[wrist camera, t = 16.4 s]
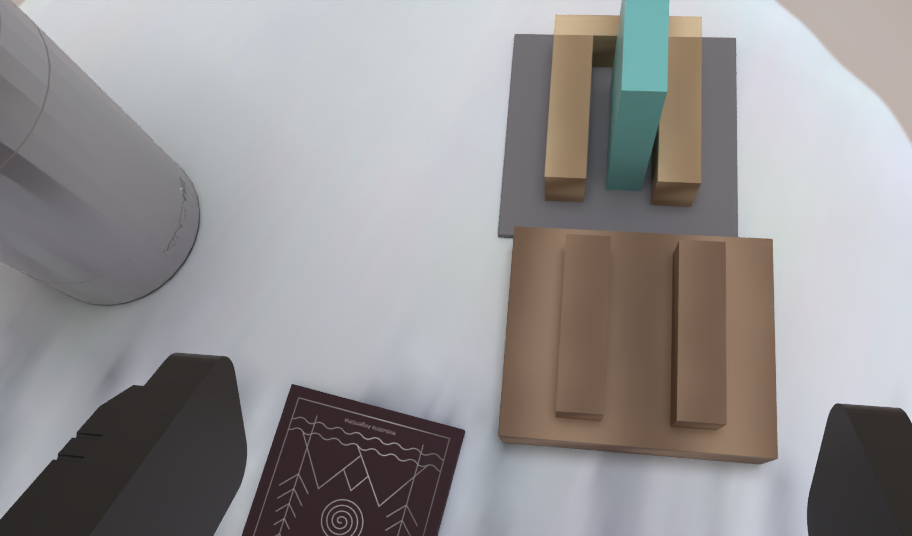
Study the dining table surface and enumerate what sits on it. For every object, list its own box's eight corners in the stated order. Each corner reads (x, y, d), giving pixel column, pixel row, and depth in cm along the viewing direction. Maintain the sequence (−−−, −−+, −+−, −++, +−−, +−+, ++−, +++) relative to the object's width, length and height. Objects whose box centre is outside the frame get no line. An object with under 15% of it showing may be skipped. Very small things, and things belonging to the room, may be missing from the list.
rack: (545, 200, 42) (544, 176, 40) (555, 47, 45) (555, 14, 42) (690, 207, 41) (701, 183, 39) (692, 49, 44) (701, 16, 41)
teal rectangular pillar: (605, 189, 42) (621, 90, 33) (610, 87, 44) (626, -35, 35) (641, 191, 42) (667, 91, 33) (644, 88, 44) (670, -35, 34)
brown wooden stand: (502, 442, 39) (495, 429, 34) (516, 246, 42) (512, 210, 37) (760, 464, 38) (790, 454, 33) (757, 259, 41) (784, 223, 36)
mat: (498, 236, 42) (497, 234, 42) (515, 38, 46) (514, 33, 46) (736, 249, 41) (738, 246, 40) (734, 42, 44) (735, 37, 44)
